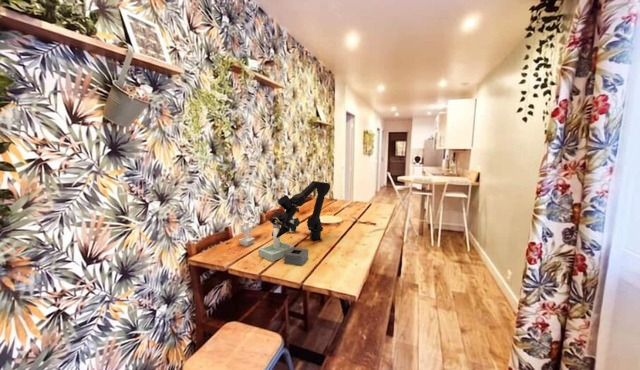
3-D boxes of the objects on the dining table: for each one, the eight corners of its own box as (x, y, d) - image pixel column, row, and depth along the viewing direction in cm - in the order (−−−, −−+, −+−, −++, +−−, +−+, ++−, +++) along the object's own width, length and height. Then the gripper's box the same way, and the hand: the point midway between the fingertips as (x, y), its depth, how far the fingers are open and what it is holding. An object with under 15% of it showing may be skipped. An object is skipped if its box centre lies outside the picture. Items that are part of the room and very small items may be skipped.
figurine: (256, 242, 166) (255, 220, 164) (246, 247, 157) (245, 224, 155) (247, 241, 169) (246, 218, 167) (237, 246, 160) (236, 222, 158)
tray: (280, 247, 158) (280, 241, 158) (293, 252, 150) (293, 246, 150) (258, 255, 146) (258, 248, 146) (272, 261, 139) (271, 254, 138)
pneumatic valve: (295, 234, 183) (295, 217, 181) (283, 231, 190) (283, 215, 188) (300, 232, 188) (300, 216, 186) (289, 229, 194) (288, 213, 193)
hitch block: (291, 255, 146) (291, 247, 146) (308, 258, 144) (308, 249, 143) (284, 263, 137) (284, 254, 136) (301, 265, 134) (301, 256, 133)
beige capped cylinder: (280, 246, 150) (279, 224, 148) (279, 248, 146) (279, 226, 144) (273, 246, 150) (273, 224, 148) (273, 248, 146) (272, 226, 144)
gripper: (271, 203, 154) (256, 225, 147) (292, 208, 141) (276, 233, 135) (281, 214, 161) (267, 235, 154) (302, 219, 148) (288, 243, 142)
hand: (274, 236), depth 146 cm, fingers closed on beige capped cylinder, 4 cm apart
